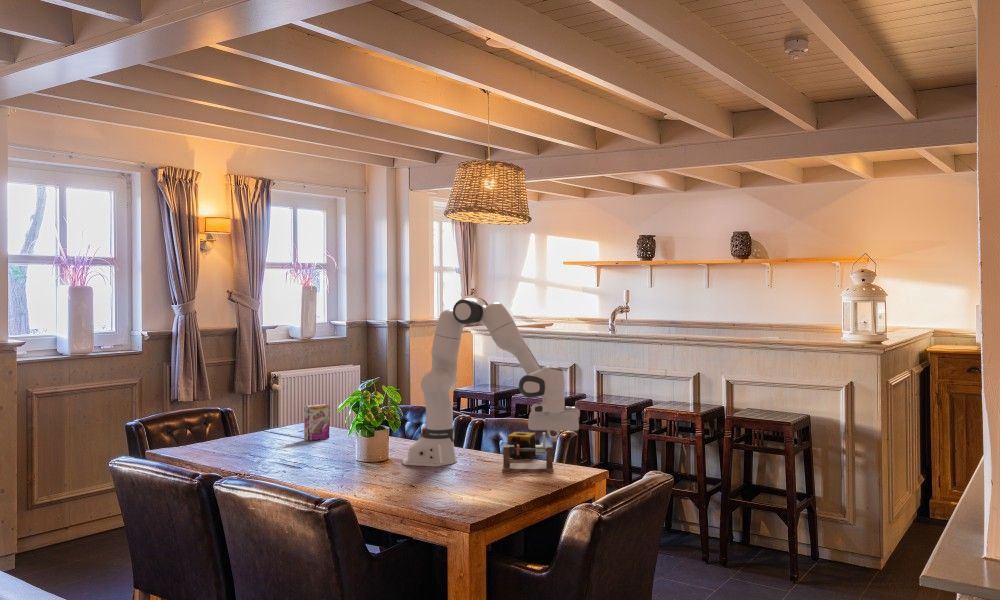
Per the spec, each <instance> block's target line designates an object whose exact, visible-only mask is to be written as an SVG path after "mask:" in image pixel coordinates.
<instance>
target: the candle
mask: <svg viewBox="0 0 1000 600" xmlns="http://www.w3.org/2000/svg"><path fill="white" fill-rule="evenodd" d="M536 438H537V437H536V432H525V431H524V432H523V431H514V432H512V433H510V434H509V435H507V445H514V448H517V445H519V448H536V445H537V443H536V442H537V441H536ZM536 456H537V455H536V451H519V455H517V451H514V454H510V458H513V459H512V460H520V459H529V460H528V461H530V460H532V459H533V458H534V457H536Z"/></svg>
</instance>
